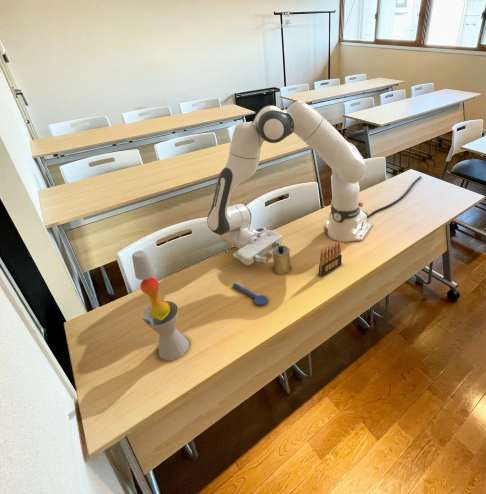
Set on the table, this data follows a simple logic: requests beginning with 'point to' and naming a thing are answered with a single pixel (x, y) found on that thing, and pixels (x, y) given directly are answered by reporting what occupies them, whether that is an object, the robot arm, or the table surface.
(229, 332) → the table surface
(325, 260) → the ammunition clip
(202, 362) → the table surface
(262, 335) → the table surface
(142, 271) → the lava lamp
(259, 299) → the spoon
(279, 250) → the pot
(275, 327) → the table surface
